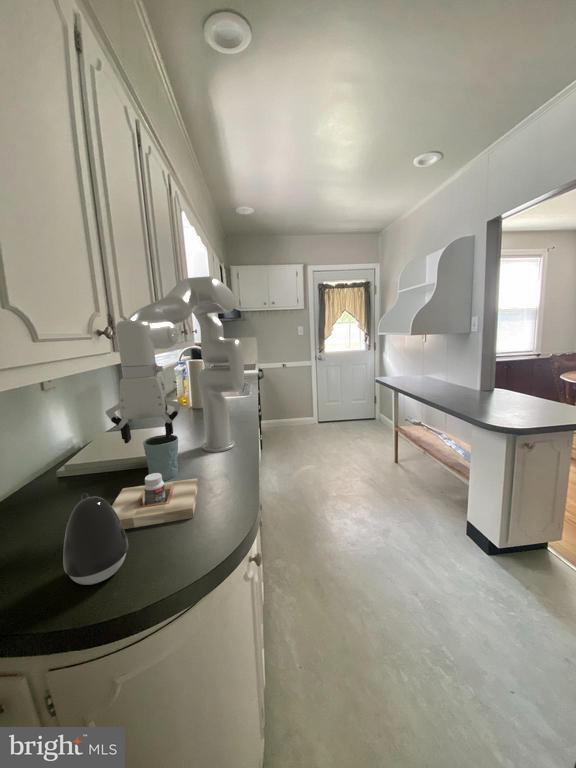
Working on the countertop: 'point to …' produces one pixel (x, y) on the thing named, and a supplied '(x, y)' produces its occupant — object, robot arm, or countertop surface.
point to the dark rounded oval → (93, 541)
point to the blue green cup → (162, 455)
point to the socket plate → (139, 514)
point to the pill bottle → (154, 489)
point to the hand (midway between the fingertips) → (148, 439)
